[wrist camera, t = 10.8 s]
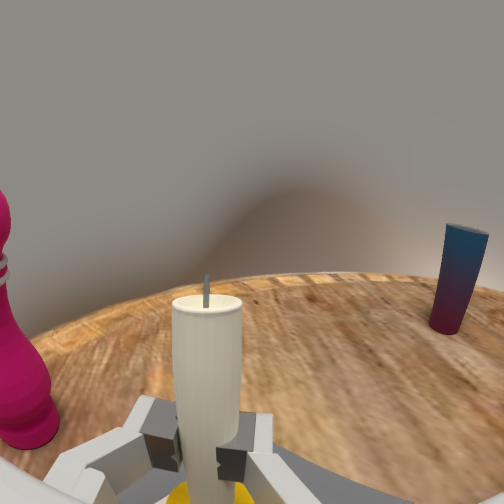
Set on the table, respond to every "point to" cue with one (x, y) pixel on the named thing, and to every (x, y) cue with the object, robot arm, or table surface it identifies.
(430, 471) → the table surface
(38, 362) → the pepper mill
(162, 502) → the tile
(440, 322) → the cup
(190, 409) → the candle
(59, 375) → the table surface
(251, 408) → the table surface
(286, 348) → the table surface
